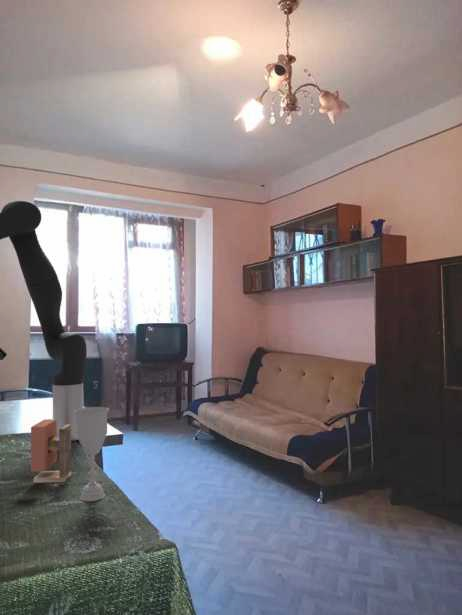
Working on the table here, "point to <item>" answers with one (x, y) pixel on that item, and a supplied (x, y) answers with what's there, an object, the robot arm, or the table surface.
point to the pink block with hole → (43, 445)
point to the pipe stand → (64, 457)
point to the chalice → (92, 444)
